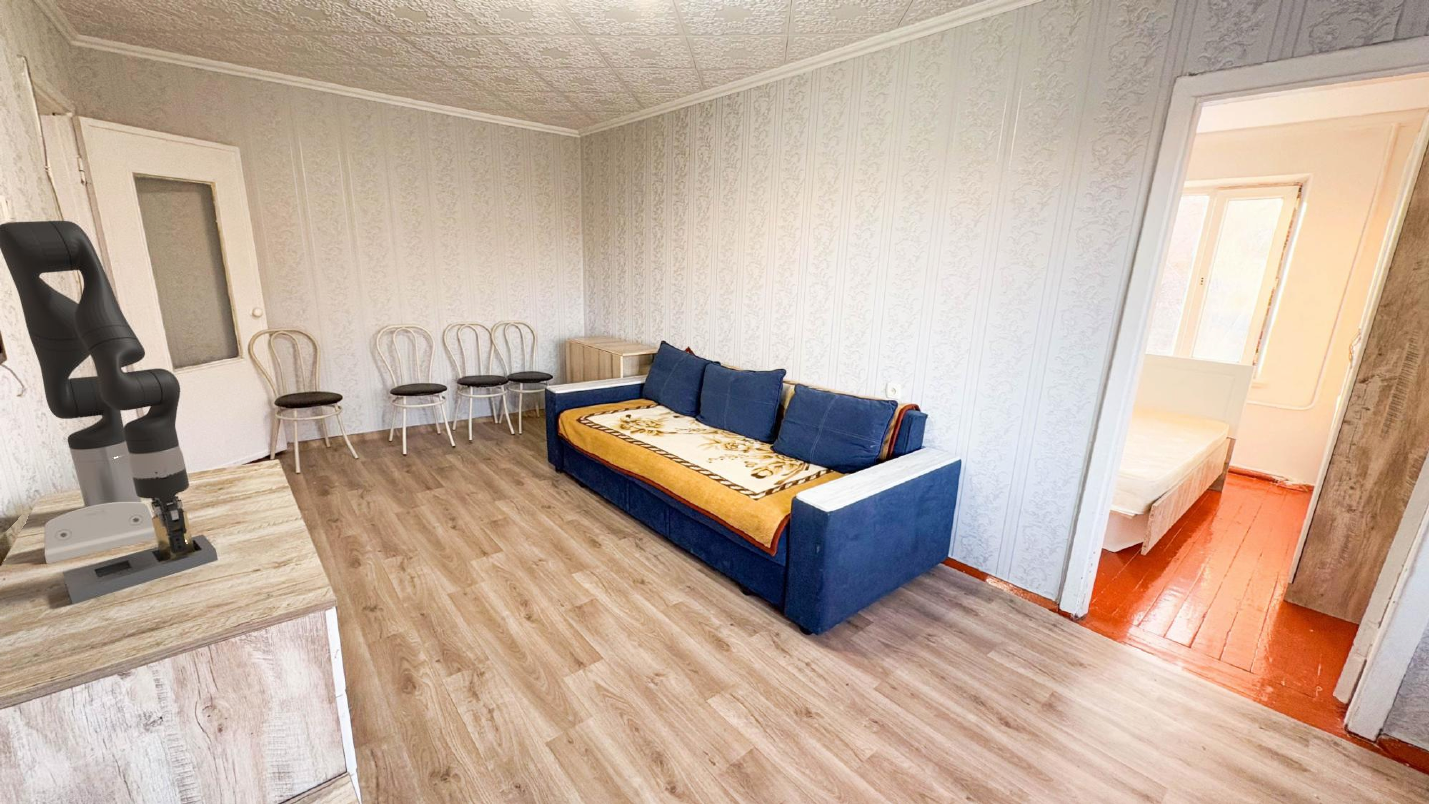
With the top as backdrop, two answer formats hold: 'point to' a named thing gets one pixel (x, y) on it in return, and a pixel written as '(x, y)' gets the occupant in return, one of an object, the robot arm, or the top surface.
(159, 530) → the cylinder
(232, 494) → the top surface
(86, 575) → the grey flat block
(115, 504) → the grey curved housing
